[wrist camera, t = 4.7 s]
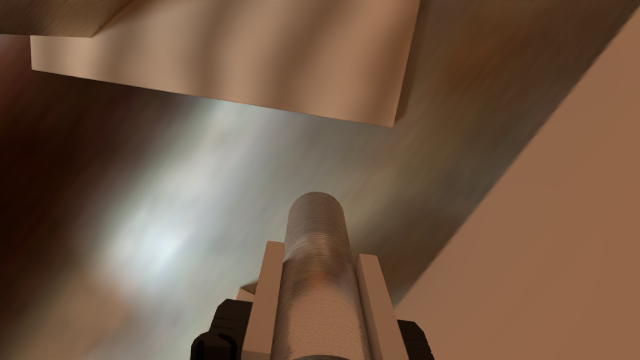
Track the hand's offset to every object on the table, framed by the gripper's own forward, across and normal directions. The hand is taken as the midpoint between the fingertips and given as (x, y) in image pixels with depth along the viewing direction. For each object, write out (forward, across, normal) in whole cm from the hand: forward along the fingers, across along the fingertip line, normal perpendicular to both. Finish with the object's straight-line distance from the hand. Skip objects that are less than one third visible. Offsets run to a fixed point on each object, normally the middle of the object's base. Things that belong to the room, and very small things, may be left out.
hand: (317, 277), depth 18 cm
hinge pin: (+6, 0, 0) cm, 6 cm away
